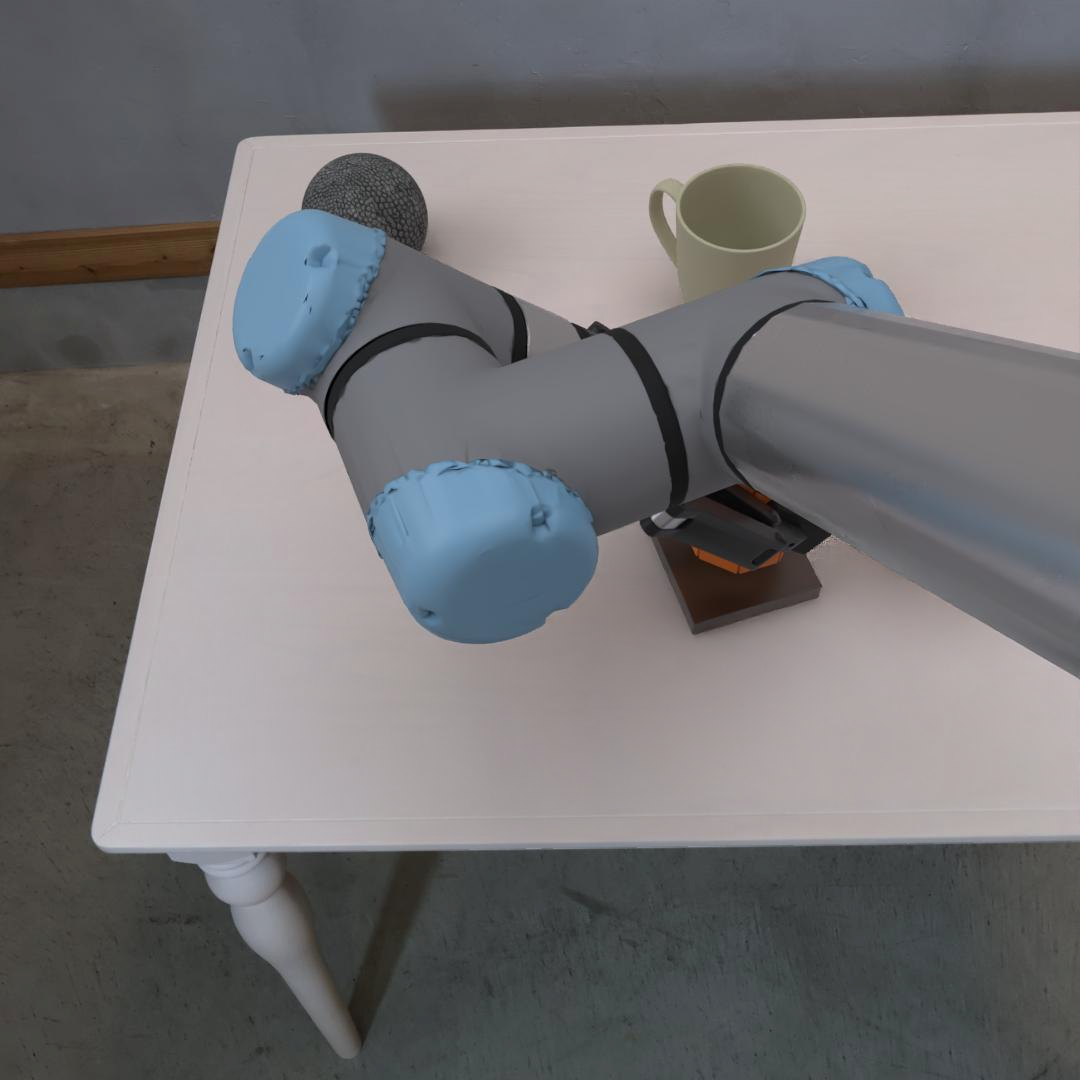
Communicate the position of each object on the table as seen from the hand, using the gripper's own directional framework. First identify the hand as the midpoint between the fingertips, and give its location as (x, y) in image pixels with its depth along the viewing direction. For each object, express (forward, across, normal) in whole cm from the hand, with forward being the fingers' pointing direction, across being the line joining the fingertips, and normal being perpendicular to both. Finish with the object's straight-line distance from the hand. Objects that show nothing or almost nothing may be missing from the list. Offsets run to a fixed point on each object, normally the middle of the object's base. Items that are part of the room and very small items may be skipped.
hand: (793, 490), depth 72 cm
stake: (+3, 0, -8) cm, 8 cm away
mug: (+8, -21, -3) cm, 23 cm away
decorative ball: (-10, -36, -20) cm, 42 cm away
